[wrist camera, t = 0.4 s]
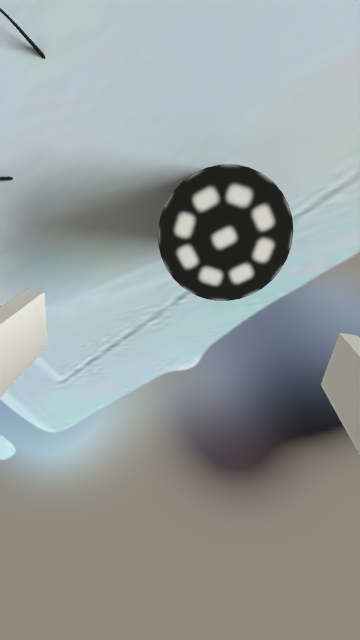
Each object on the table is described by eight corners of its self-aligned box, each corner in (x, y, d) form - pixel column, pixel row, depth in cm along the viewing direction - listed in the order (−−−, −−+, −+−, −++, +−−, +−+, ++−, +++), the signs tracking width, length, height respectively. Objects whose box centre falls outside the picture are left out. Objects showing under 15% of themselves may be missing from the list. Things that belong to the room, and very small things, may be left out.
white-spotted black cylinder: (198, 255, 41) (195, 320, 23) (166, 192, 38) (133, 209, 20) (261, 223, 39) (312, 266, 21) (231, 154, 36) (260, 134, 18)
